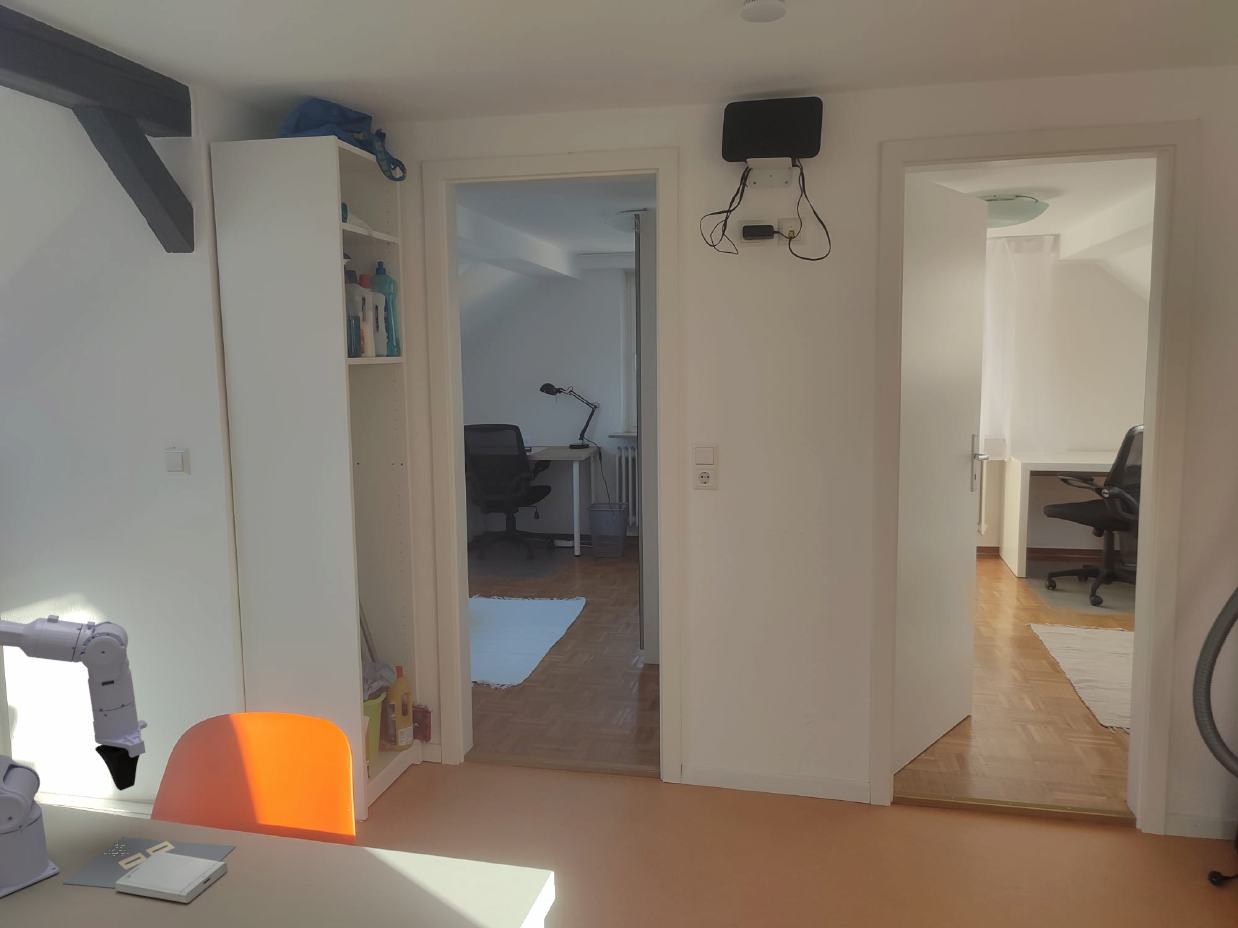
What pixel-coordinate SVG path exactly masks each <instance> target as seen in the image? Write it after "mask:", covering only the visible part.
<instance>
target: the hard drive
mask: <svg viewBox="0 0 1238 928" xmlns="http://www.w3.org/2000/svg"><path fill="white" fill-rule="evenodd" d="M227 871H228V864H227V862H224V861H214V860H208V859H202V858H196V857H190V856H184V855H177V854H171V853H165V852H159V851H158V852H156V853H154V854H153V855H152V856H150V857H149V858H147V859H146V860H145V861H143V862H142V863H141V864H139V865H138V866H136V867H135V868H134V869H132V870H131V871H130V872H128V873H127V874H126V875H124V876H123V877H121V878H120V879H119V880H118V881H117V882H116V883H115V888H114V889H115V891H116V892H121V893H127V894H131V895H132V894H133V895H137V896H143V897H144V896H145V897H150V898H156V899H163V900H168V901H171V902H173V901H174V902H179V903H185V904H189V903H190V902H191V901H192V900H194V899H195V898H196V897H197V896H198V895H200V894H201V893H202V892H204V891H205V890H206V889H207V888H209V886H210V885H212V884H213V883H215V882H216V880H218V879H220V877H222V876H223V875H224V874H226V873H227Z"/></svg>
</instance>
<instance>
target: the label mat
mask: <svg viewBox="0 0 1238 928" xmlns="http://www.w3.org/2000/svg"><path fill="white" fill-rule="evenodd" d="M116 842H118V843H116ZM116 842H115V843H113V844H112V845H113V846H112V845H110V846H109V847H110V848H109V847H108V848H107V849H106V850H104V851H102V852H101V853H100V854H99V855H97V856H96V857H95V858H94V859H92V860H91V861H90V862H89V863H87V864H86V865H85V866H83V867H81V868H80V870H78V871H77V872H76V873H74V874H73V875H71V876H70V877H69V878H67V879H66V880H65V881H63V882H62V884H64V885H72V886H73V885H74V886H85V887H97V888H107V889H116V888H115V883H116V882H117V881H118V880H119V879H120V878H121V877H123V876H124V875H126V874H127V873H128V872H130V871H131V870H132V869H134V868H135V867H136V866H138V865H139V864H141V863H142V862H143V861H145V860H146V859H147V858H149V857H150V856H152V855H153V854H154V853H156V852H158V851H159V852H165V853H171V854H177V855H184V856H190V857H196V858H202V859H208V860H214V861H220V862H222V861H223V859H225V858H226V857H227V856H228V855H229V854H230V853H231V852H232V851H233V850H234V849H235V848H236V847H237V846H236V845H225V844H212V843H200V842H198V843H197V842H188V841H187V842H186V841H174V840H173V841H172V840H161V839H147V838H136V837H135V838H134V837H121V838H120V839H118V840H117V841H116ZM117 844H118V846H115V845H117ZM121 845H125V846H121ZM116 847H118V848H116ZM120 847H122V848H120ZM114 849H115V850H114ZM109 850H110V851H109ZM112 850H114V851H112ZM119 850H122V851H119ZM124 850H125V851H124ZM117 852H118V854H112V853H117ZM104 853H107V854H104ZM109 853H110V854H109ZM121 853H125V854H121ZM127 853H129V854H127ZM113 855H115V856H113ZM122 855H123V856H122Z"/></svg>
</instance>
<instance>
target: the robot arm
mask: <svg viewBox="0 0 1238 928" xmlns="http://www.w3.org/2000/svg"><path fill="white" fill-rule="evenodd" d="M128 644H129V637H128V633H127V631H126V630H125V628H124V627H122V626H121V625H119V624H117V623H114V622H111V621H109V620H107V621H101V622H99V623H96V622H95V621H90V620H89V621H87V623H84V622H83V623H82V622H81V623H80V622H75V621H68V620H60V616H59V615H55V614H49V615H48V616H47V618H45V617H37V618H36V619H35V620H32V621H31V622H29V623H21V622H15V621H9V620H5V619H0V646H1V647H15V648H18V649H20V650H21V651H22V652H23V653H24V654H25V655H26V656H27V657H28V658H35V659H41V660H43V659H45V660H52V661H59V662H67V663H74V664H75V663H77V664H78V663H80V662H81V663H82V664H83V666H85V667H86V668H87V676H88V678H87V685H88V690H89V697H90V704H91V712H92V719H93V721H92V725H93V733H94V741H95V743H96V744H98V746H96V747H95V748H94V749H95V751H96V753H97V754H98V755H99V756H100V758H101V759H102V761H103V762H104V763H105V765H106V767H107V769H108V771H109V773H110V776H111V779H112V781H113V783H114V785H115V787H116V789H117V790H119V791H124V790H126V789H129V788H132V787H133V786H135V783H136V777H137V768H138V762H139V758H140V756H141V755H143V754H145V753H146V747H145V740H144V739H143V738H142V733H141V732H142V730H143V729H145V728H147V727H148V723H147V722H146V721H145V720H143V719H141V720H138V712H137V704H136V697H135V690H134V689H135V688H134V683H133V676H132V671H131V669H130V667H129V666H130V661H129V658H128V653H127V651H128V650H127V647H128ZM40 785H41V779H40V776H39V773H38V772H37V770H35V769H33V768H32V767H31V766H28V765H25V764H20V763H18V762H16V761H15V760H14V759H12V757H10V756H8V755H4V754H0V898H2V897H5V896H8V895H9V894H11V893H14V892H16V891H19V890H21V889H23V888H26V887H28V886H31V885H33V884H36V883H38V882H40V881H42V880H44V879H47V878H49V877H51V876H55V875H56V874H58V873H59V872H60V868H59V867H58V866H57V865H56V864H55V863H54V862H53V861H52V860H51V859H50V858H49V856H48V855H49V854H48V847H47V841H46V834H45V825H44V817H43V811H42V807H41V806H40V804H38V803H37V801H36V800H35V796H36V794H37V793H38V791H39V789H40Z"/></svg>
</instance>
